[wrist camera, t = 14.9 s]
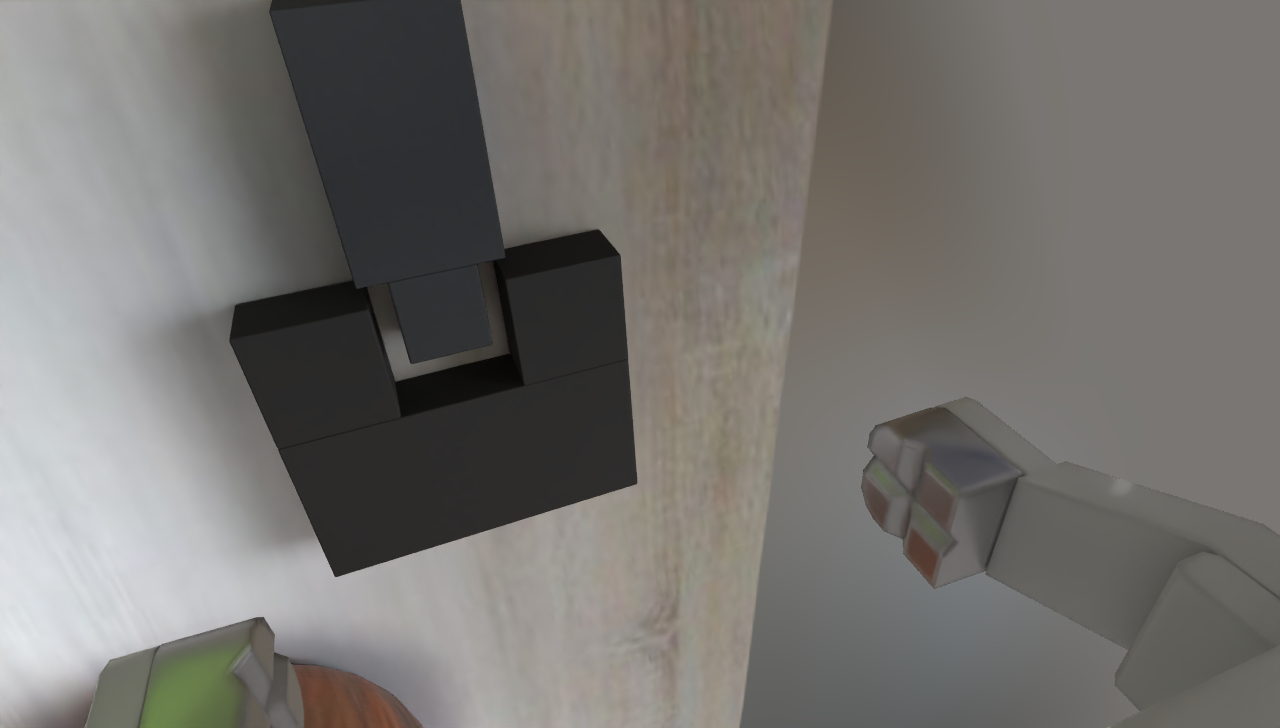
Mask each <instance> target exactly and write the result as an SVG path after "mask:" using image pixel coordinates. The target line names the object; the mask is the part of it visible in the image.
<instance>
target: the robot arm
mask: <svg viewBox="0 0 1280 728" xmlns="http://www.w3.org/2000/svg"><path fill="white" fill-rule="evenodd" d="M867 447H868V449H869V450H870V451H871V452H872V453H873V454H874V457H873V458H872V459H871V460H870V462H869V463H868V464H867V466H866V467H865V468H864V470H863V476H862V484H861V489H862V492H863V496H864V500H865V504H866V506H867V508H868V510H869V512H870V514H871V516H872V517H873V519H874V520H875V521H876V522H877V524H878V525H879V526H880V527H881V528H882V530H883V531H885V532H887V533H889V534H892V535H894V536H897V537H899V538H901V539H903V554H904V555H905V556H906V557H907V558H908V560H909V561H910V562H911V563H912V564H913V565H914V567H915V568H916V569H917V570H918V571H919V572H920V573H921V574H922V575H923V577H924V578H925V579H926V580H927V581H928V583H929V584H930V585H931V586H932V587H933V588H934V589H936V588H939V587H942V586H944V585H947V584H950V583H953V582H956V581H958V580H961V579H964V578H967V577H970V576H973V575H976V574H979V573H981V572H984V571H986V575H988V576H989V577H992V578H993V579H995V580H997V581H999V582H1001V583H1003V584H1005V585H1006V586H1008V587H1010V588H1012V589H1014V590H1016V591H1018V592H1020V593H1021V594H1023V595H1025V596H1027V597H1029V598H1031V599H1033V600H1035V601H1037V602H1039V603H1040V604H1043V605H1044V606H1046V607H1048V608H1050V609H1052V610H1053V611H1055V612H1057V613H1059V614H1061V615H1063V616H1065V617H1067V618H1069V619H1070V620H1072V621H1075V622H1076V623H1078V624H1080V625H1082V626H1084V627H1085V628H1087V629H1089V630H1091V631H1093V632H1095V633H1097V634H1099V635H1100V636H1102V637H1104V638H1106V639H1108V640H1110V641H1112V642H1114V643H1116V644H1117V645H1119V646H1121V647H1123V648H1125V649H1127V650H1128V652H1127V654H1126V656H1125V657H1124V659H1123V661H1122V662H1121V664H1120V666H1119V668H1118V669H1117V671H1116V673H1115V686H1116V687H1117V688H1118V689H1119V690H1120V691H1121V692H1122V693H1123V694H1124V695H1125V696H1126V697H1127V698H1128V699H1129V701H1131V703H1133V705H1134V706H1135V707H1136V708H1137V709H1138V710H1139V711H1140V712H1139V713H1136V714H1134V715H1132V716H1130V717H1128V718H1126V719H1124V720H1122V721H1120V722H1118V723H1115V724H1113V725H1111V726H1109V727H1107V728H1280V535H1278V534H1277V533H1275V532H1274V531H1272V530H1271V529H1269V528H1268V527H1267V526H1265V525H1263V524H1261V523H1258V522H1255V521H1252V520H1249V519H1246V518H1242V517H1239V516H1236V515H1233V514H1230V513H1227V512H1224V511H1220V510H1217V509H1214V508H1211V507H1208V506H1205V505H1201V504H1198V503H1195V502H1192V501H1189V500H1186V499H1182V498H1179V497H1176V496H1173V495H1170V494H1167V493H1164V492H1160V491H1157V490H1154V489H1151V488H1148V487H1145V486H1142V485H1139V484H1135V483H1132V482H1129V481H1126V480H1122V479H1120V478H1117V477H1113V476H1110V475H1107V474H1104V473H1100V472H1098V471H1094V470H1091V469H1088V468H1085V467H1082V466H1079V465H1075V464H1072V463H1069V462H1063V463H1059V464H1056V463H1055V462H1054V461H1052V460H1051V459H1050V458H1049V457H1047V456H1046V455H1045V454H1044V453H1042V452H1041V451H1040V450H1039V449H1037V448H1036V447H1035V446H1034V445H1032V444H1031V443H1030V442H1028V441H1027V440H1026V439H1025V438H1023V437H1022V436H1021V435H1020V434H1018V433H1017V432H1016V431H1015V430H1013V429H1012V428H1011V427H1010V426H1008V425H1007V424H1006V423H1004V422H1003V421H1002V420H1001V419H999V418H998V417H997V416H996V415H994V414H993V413H992V412H991V411H989V410H988V409H987V408H986V407H984V406H983V405H982V404H980V403H979V402H978V401H976V400H974V399H971V398H967V397H964V398H961V399H958V400H954V401H951V402H948V403H945V404H942V405H938V406H936V407H934V408H929V409H925V410H922V411H919V412H916V413H913V414H909V415H906V416H904V417H900V418H897V419H894V420H891V421H888V422H885V423H882V424H878V425H876V426H875V427H874V428H873V430H872V431H871V433H870V435H869V440H868V445H867ZM274 636H275V634H274V633H273V631H272V630H271V628H270V626H269V625H268V623H267V622H266V620H265V619H264V617H256V618H253V619H249V620H246V621H242V622H239V623H235V624H232V625H228V626H225V627H221V628H218V629H214V630H211V631H207V632H204V633H200V634H197V635H193V636H190V637H186V638H183V639H179V640H176V641H172V642H169V643H165V644H162V645H160V646H157V647H153V648H150V649H146V650H143V651H140V652H136V653H133V654H129V655H126V656H122V657H119V658H115V659H112V660H110V661H109V662H108V664H107V665H106V667H105V668H104V669H103V671H102V672H101V674H100V675H99V678H98V682H97V686H96V689H95V693H94V697H93V700H92V704H91V708H90V711H89V715H88V719H87V723H86V726H85V728H304V708H303V701H302V695H301V688H300V685H299V682H298V679H297V676H296V673H295V670H294V668H293V666H292V665H291V663H290V661H289V659H288V657H285V656H282V655H279V654H276V653H274Z"/></svg>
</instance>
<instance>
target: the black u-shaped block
mask: <svg viewBox="0 0 1280 728" xmlns="http://www.w3.org/2000/svg"><path fill="white" fill-rule="evenodd" d="M504 251H505V258H501V259H496V260H493V264H494V269H495V275H496V280H497V285H498V291H499V296H500V301H501V307H502V312H503V317H504V323H505V328H506V333H507V339H508V344H509V350H510V354H509V355H505V356H501V357H497V358H493V359H489V360H485V361H481V362H477V363H472V364H468V365H464V366H460V367H456V368H452V369H448V370H444V371H440V372H436V373H432V374H428V375H424V376H420V377H416V378H412V379H408V380H404V381H399V382H395V380H394V376H393V373H392V370H391V366H390V363H389V360H388V357H387V353H386V350H385V347H384V344H383V340H382V337H381V334H380V330H379V327H378V324H377V321H376V317H375V314H374V311H373V307H372V304H371V301H370V298H369V294H368V291H367V288H366V287H363V288H359V289H356V287H355V284H354V281H350V282H346V283H341V284H336V285H331V286H326V287H322V288H317V289H312V290H307V291H302V292H297V293H293V294H288V295H283V296H278V297H273V298H268V299H264V300H259V301H254V302H249V303H244V304H239V305H236V306H235V309H234V315H233V321H232V327H231V334H230V340H229V341H230V344H231V346H232V348H233V350H234V353H235V355H236V357H237V359H238V362H239V364H240V366H241V368H242V370H243V373H244V375H245V377H246V379H247V382H248V384H249V386H250V388H251V390H252V393H253V395H254V397H255V399H256V402H257V404H258V406H259V408H260V411H261V413H262V415H263V417H264V419H265V422H266V424H267V426H268V428H269V431H270V433H271V435H272V437H273V440H274V442H275V444H276V446H277V448H278V451H279V453H280V455H281V458H282V460H283V462H284V464H285V466H286V469H287V471H288V473H289V475H290V478H291V480H292V482H293V484H294V486H295V489H296V491H297V493H298V495H299V498H300V500H301V502H302V504H303V507H304V509H305V511H306V513H307V515H308V518H309V520H310V522H311V524H312V527H313V529H314V531H315V533H316V536H317V538H318V540H319V542H320V544H321V547H322V549H323V551H324V553H325V556H326V558H327V560H328V562H329V565H330V567H331V569H332V571H333V573H334V576H335V577H338V576H341V575H345V574H348V573H351V572H354V571H357V570H361V569H364V568H367V567H370V566H374V565H377V564H380V563H383V562H387V561H390V560H393V559H396V558H399V557H403V556H406V555H409V554H412V553H416V552H419V551H422V550H425V549H429V548H432V547H435V546H438V545H441V544H445V543H448V542H451V541H454V540H458V539H461V538H464V537H467V536H470V535H474V534H477V533H480V532H483V531H487V530H490V529H493V528H496V527H500V526H503V525H506V524H509V523H512V522H516V521H519V520H522V519H525V518H529V517H532V516H535V515H538V514H542V513H545V512H548V511H551V510H554V509H558V508H561V507H564V506H567V505H571V504H574V503H577V502H580V501H583V500H587V499H590V498H593V497H596V496H600V495H603V494H606V493H609V492H613V491H616V490H619V489H622V488H625V487H629V486H632V485H635V484H637V472H636V458H635V445H634V432H633V419H632V405H631V392H630V379H629V365H628V350H627V337H626V324H625V310H624V297H623V284H622V270H621V257H620V254H619V253H618V252H617V250H616V249H615V248H614V247H613V246H612V244H611V243H610V242H609V241H608V240H607V238H606V237H605V236H604V235H603V234H602V232H601V231H600V230H595V231H591V232H586V233H581V234H576V235H571V236H566V237H562V238H557V239H552V240H547V241H542V242H537V243H533V244H528V245H523V246H518V247H513V248H508V249H504Z"/></svg>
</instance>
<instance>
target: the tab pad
mask: <svg viewBox="0 0 1280 728" xmlns="http://www.w3.org/2000/svg"><path fill="white" fill-rule="evenodd" d="M269 13H270V16H271V19H272V22H273V26H274V29H275V32H276V35H277V38H278V42H279V45H280V48H281V51H282V54H283V57H284V61H285V64H286V67H287V70H288V73H289V77H290V80H291V83H292V86H293V89H294V92H295V96H296V99H297V102H298V105H299V108H300V112H301V115H302V118H303V121H304V124H305V128H306V131H307V134H308V137H309V140H310V143H311V147H312V150H313V153H314V156H315V159H316V163H317V166H318V169H319V172H320V175H321V179H322V182H323V185H324V188H325V191H326V194H327V198H328V201H329V204H330V207H331V210H332V214H333V217H334V220H335V223H336V226H337V229H338V233H339V236H340V239H341V242H342V245H343V249H344V252H345V255H346V258H347V261H348V265H349V268H350V271H351V274H352V277H353V280H354V284H355V287H356V289H359V288H363V287H368V286H373V285H378V284H382V283H387V282H388V286H389V290H390V293H391V297H392V300H393V304H394V307H395V311H396V314H397V318H398V321H399V325H400V328H401V332H402V335H403V339H404V342H405V346H406V350H407V353H408V357H409V360H410V363H411V364H414V363H419V362H423V361H427V360H431V359H435V358H439V357H443V356H447V355H452V354H456V353H460V352H464V351H468V350H472V349H476V348H480V347H485V346H489V345H492V344H493V341H492V336H491V331H490V326H489V321H488V316H487V311H486V306H485V301H484V296H483V291H482V286H481V281H480V276H479V271H478V266H477V263H482V262H487V261H492V260H496V259H501V258H505V251H504V245H503V240H502V234H501V228H500V223H499V217H498V211H497V205H496V200H495V194H494V188H493V183H492V177H491V171H490V165H489V160H488V154H487V148H486V143H485V137H484V131H483V125H482V120H481V114H480V108H479V103H478V97H477V91H476V85H475V80H474V74H473V68H472V63H471V57H470V51H469V45H468V40H467V34H466V28H465V23H464V17H463V11H462V6H461V0H272V3H271V7H270V11H269Z"/></svg>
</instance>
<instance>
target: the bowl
mask: <svg viewBox="0 0 1280 728" xmlns="http://www.w3.org/2000/svg"><path fill="white" fill-rule="evenodd" d="M292 666H293V668H294V670H295V673H296V676H297V679H298V682H299V685H300V688H301V695H302V701H303V708H304V728H424V727H423V726H422V725H421V724H420V722H419V721H418V720H417V719H416V718H415V717H414V716H413V715H412V714H411V713H410V712H409V710H408V709H407V708H406V707H405V706H404V705H403V704H402V703H401V702H400V701H399V700H398V699H397V698H396V697H395V696H394V695H393V694H391V693H390V692H388V691H387V690H385V689H383V688H381V687H379V686H377V685H375V684H373V683H371V682H370V681H368V680H366V679H364V678H362V677H360V676H358V675H356V674H353V673H349V672H344V671H340V670H335V669H331V668H326V667H321V666H317V665H292Z"/></svg>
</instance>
